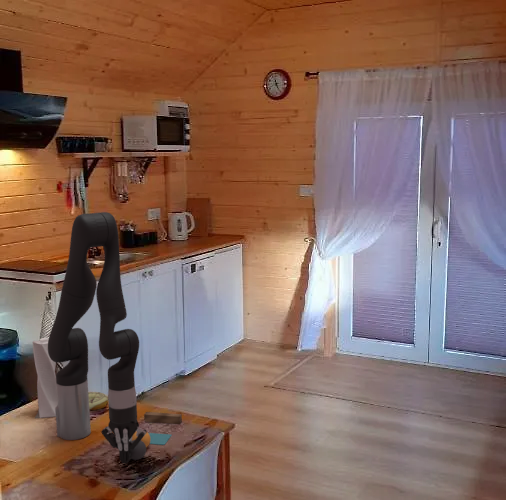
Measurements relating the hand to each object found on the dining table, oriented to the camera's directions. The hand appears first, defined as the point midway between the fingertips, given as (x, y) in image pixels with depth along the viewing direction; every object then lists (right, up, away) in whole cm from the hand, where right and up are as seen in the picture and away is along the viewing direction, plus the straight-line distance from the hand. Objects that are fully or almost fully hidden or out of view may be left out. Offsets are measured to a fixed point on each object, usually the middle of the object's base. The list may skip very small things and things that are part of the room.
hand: (125, 461), depth 176 cm
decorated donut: (-20, +4, +44) cm, 49 cm away
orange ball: (+2, +3, +11) cm, 11 cm away
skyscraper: (-33, +3, +37) cm, 50 cm away
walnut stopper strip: (+6, +3, +29) cm, 30 cm away
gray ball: (+2, +2, +4) cm, 5 cm away
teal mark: (+4, +1, +17) cm, 18 cm away
